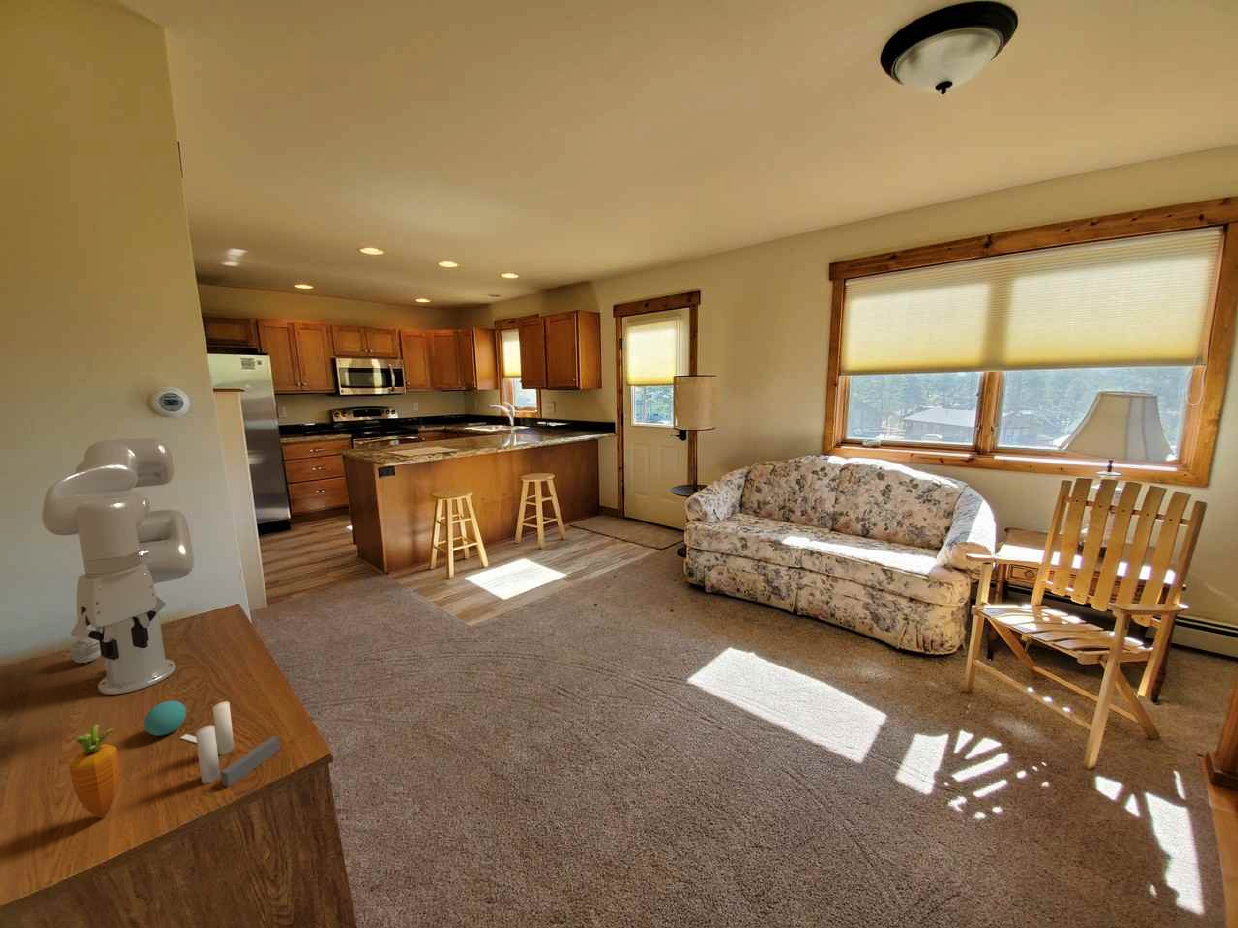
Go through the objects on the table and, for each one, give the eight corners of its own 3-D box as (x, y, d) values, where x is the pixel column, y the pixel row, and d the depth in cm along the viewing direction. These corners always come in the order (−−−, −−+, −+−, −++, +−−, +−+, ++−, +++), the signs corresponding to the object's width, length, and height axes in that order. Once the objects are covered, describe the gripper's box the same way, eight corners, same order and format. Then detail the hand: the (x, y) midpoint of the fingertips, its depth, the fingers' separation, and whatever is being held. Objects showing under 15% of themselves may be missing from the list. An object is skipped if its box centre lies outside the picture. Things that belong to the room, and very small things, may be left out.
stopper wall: (222, 784, 81) (220, 771, 81) (274, 747, 90) (272, 735, 89) (228, 786, 81) (227, 773, 80) (280, 749, 89) (278, 737, 89)
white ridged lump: (82, 671, 114) (77, 643, 113) (63, 666, 116) (58, 639, 115) (114, 658, 120) (110, 631, 119) (96, 653, 122) (92, 627, 121)
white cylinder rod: (198, 781, 82) (192, 733, 81) (213, 770, 84) (207, 724, 83) (208, 784, 81) (202, 736, 80) (223, 774, 84) (217, 727, 82)
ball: (138, 738, 92) (133, 710, 91) (174, 718, 98) (171, 691, 97) (159, 745, 90) (155, 716, 89) (195, 724, 96) (191, 697, 95)
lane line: (180, 738, 92) (180, 737, 92) (186, 734, 93) (186, 733, 93) (213, 748, 89) (213, 747, 89) (219, 744, 90) (219, 743, 90)
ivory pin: (214, 752, 88) (209, 708, 87) (228, 743, 91) (223, 700, 89) (224, 755, 88) (218, 710, 86) (237, 746, 90) (232, 702, 89)
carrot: (101, 804, 77) (87, 719, 75) (134, 802, 78) (122, 717, 75) (69, 832, 72) (53, 742, 70) (105, 830, 73) (90, 740, 71)
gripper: (152, 548, 101) (163, 630, 103) (38, 576, 85) (55, 672, 87) (177, 551, 98) (188, 635, 101) (65, 581, 83) (81, 679, 85)
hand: (126, 651), depth 94 cm, fingers open, 3 cm apart
